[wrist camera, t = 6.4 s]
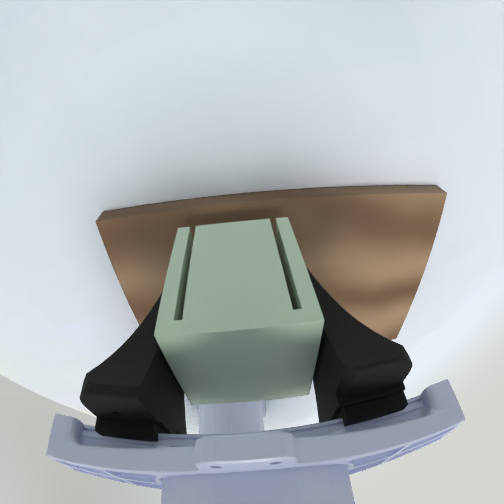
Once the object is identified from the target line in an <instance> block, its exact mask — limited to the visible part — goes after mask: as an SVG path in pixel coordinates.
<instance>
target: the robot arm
mask: <svg viewBox="0 0 504 504" xmlns="http://www.w3.org/2000/svg"><path fill="white" fill-rule="evenodd" d="M307 271H308V273H309V276H310V279H311V282H312V285H313V288H314V291H315V294H316V296H317V299H318V302H319V305H320V308H321V311H322V314H323V317H324V325H323V330H322V336H321V341H320V346H319V351H318V356H317V361H316V366H315V370H314V375H313V383H314V388H315V395H316V402H317V409H318V417H319V423H316V424H310V425H304V426H298V427H292V428H284V429H277V430H268V431H264V424H263V417H265V402H264V400H263V401H253V402H242V403H227V404H205V405H197V407H198V409H199V434H187V432H186V421H185V405H184V391H183V389H182V388H181V386H180V384H179V382H178V380H177V379H176V377H175V375H174V373H173V371H172V370H171V368H170V366H169V364H168V362H167V360H166V358H165V356H164V354H163V352H162V350H161V349H160V347H159V345H158V343H157V341H156V338H155V336H154V332H155V327H156V322H157V317H158V312H159V307H160V302H161V297H162V293H163V291H162V293H161V295H160V296H159V298H158V300H157V301H156V303H155V304H154V306H153V307H152V309H151V310H150V312H149V313H148V315H147V316H146V317H145V319H144V320H143V322H142V323H141V324H140V326H139V327H138V328H137V329H136V331H135V332H134V333H133V334H132V335H131V336H130V338H129V339H128V340H127V341H126V342H125V343H124V344H123V345H122V346H121V347H120V348H119V349H118V350H117V351H116V352H114V353H113V354H112V355H111V356H110V357H109V358H107V359H106V360H105V361H104V362H102V363H101V364H100V365H98V366H97V367H96V368H94V369H93V370H91V371H90V372H88V373H87V374H86V376H85V379H84V382H83V387H82V391H81V395H80V400H81V402H82V404H83V405H84V406H85V407H86V408H87V409H89V410H90V411H91V412H92V413H93V414H94V415H95V416H97V420H96V425H95V426H89V425H84V424H83V423H82V422H81V421H79V420H78V419H76V418H74V417H71V416H65V415H60V414H55V416H54V420H53V425H52V429H51V434H50V439H49V444H48V449H47V454H46V455H47V456H48V457H49V458H51V459H53V460H55V461H57V462H59V463H61V464H63V465H65V466H67V467H69V468H71V469H73V470H76V471H79V472H82V473H86V474H90V475H94V476H98V477H102V478H106V479H110V480H115V481H119V482H123V483H128V484H133V485H139V486H145V487H150V488H158V489H162V504H355V502H354V497H353V493H352V488H351V483H350V479H349V475H350V474H353V473H357V472H360V471H363V470H366V469H369V468H372V467H375V466H377V465H380V464H383V463H386V462H388V461H391V460H394V459H396V458H399V457H401V456H403V455H406V454H408V453H411V452H413V451H415V450H418V449H420V448H422V447H424V446H426V445H429V444H431V443H433V442H435V441H437V440H440V439H441V438H443V437H444V436H446V435H447V434H448V433H450V432H451V431H452V430H454V429H455V428H456V427H458V426H459V425H460V424H461V423H463V422H464V421H465V417H464V415H463V412H462V410H461V407H460V405H459V403H458V400H457V398H456V396H455V394H454V391H453V389H452V387H451V385H450V383H449V381H448V380H447V379H446V380H444V381H441V382H439V383H436V384H433V385H431V386H429V387H427V388H426V389H425V390H424V391H423V392H422V393H421V395H420V396H417V397H414V398H411V399H408V400H407V399H406V397H405V394H404V390H405V386H404V383H403V381H404V379H405V378H406V376H407V375H408V373H409V372H410V370H411V368H412V362H411V360H410V357H409V355H408V353H407V352H406V350H405V349H404V347H403V346H402V345H400V344H398V343H396V342H393V341H391V340H389V339H387V338H385V337H383V336H382V335H380V334H378V333H376V332H375V331H373V330H371V329H370V328H368V327H367V326H365V325H364V324H362V323H361V322H360V321H358V320H357V319H356V318H354V317H353V316H352V315H351V314H349V313H348V312H347V311H346V310H345V309H344V308H343V307H341V306H340V305H339V304H338V303H337V302H336V301H335V300H334V299H333V298H332V297H331V296H330V294H329V293H328V292H327V291H326V290H325V289H324V288H323V287H322V286H321V284H320V283H319V282H318V281H317V280H316V278H315V277H314V276H313V275H312V273H311V272H310V271H309V269H308V268H307Z"/></svg>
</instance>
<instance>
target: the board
mask: <svg viewBox="0 0 504 504" xmlns="http://www.w3.org/2000/svg"><path fill="white" fill-rule="evenodd" d="M446 195H447V193H446V192H445V191H443V190H442V189H441V188H440V187H438V186H425V185H394V186H350V187H326V188H308V189H292V190H278V191H265V192H253V193H242V194H232V195H222V196H213V197H204V198H195V199H187V200H179V201H171V202H164V203H156V204H149V205H143V206H136V207H129V208H123V209H117V210H111V211H105V212H102V214H101V215H100V216H99V218H98V219H97V221H96V224H97V226H98V229H99V232H100V235H101V238H102V240H103V243H104V246H105V248H106V251H107V253H108V256H109V258H110V261H111V263H112V266H113V268H114V271H115V273H116V275H117V278H118V280H119V282H120V285H121V287H122V289H123V292H124V294H125V296H126V298H127V300H128V303H129V305H130V307H131V309H132V311H133V313H134V315H135V317H136V319H137V321H138V323H139V325H140V324H141V323H142V322H143V320H144V319H145V317H146V316H147V315H148V313H149V312H150V310H151V309H152V307H153V306H154V304H155V303H156V301H157V300H158V298H159V296H160V295H161V293H162V291H163V288H164V284H165V279H166V275H167V270H168V266H169V262H170V258H171V254H172V250H173V246H174V242H175V238H176V234H177V230H178V228H182V227H190V230H191V234H192V239H193V240H194V234H195V228H196V226H200V225H209V224H219V223H228V222H239V221H249V220H260V219H270V222H271V226H272V230H273V234H274V237H275V241H276V218H282V217H288V219H289V222H290V224H291V227H292V230H293V232H294V235H295V238H296V240H297V243H298V246H299V248H300V251H301V254H302V257H303V259H304V262H305V265H306V268H308V269H309V271H310V272H311V273H312V275H313V276H314V277H315V278H316V280H317V281H318V282H319V283H320V284H321V286H322V287H323V288H324V289H325V290H326V291H327V292H328V293H329V294H330V296H331V297H332V298H333V299H334V300H335V301H336V302H337V303H338V304H339V305H340V306H341V307H343V308H344V309H345V310H346V311H347V312H348V313H349V314H351V315H352V316H353V317H354V318H356V319H357V320H358V321H360V322H361V323H362V324H364V325H365V326H367V327H368V328H370V329H371V330H373V331H375V332H376V333H378V334H380V335H382V336H383V337H385V338H387V339H389V340H392V339H396V338H397V336H398V334H399V331H400V329H401V327H402V325H403V323H404V320H405V318H406V316H407V314H408V311H409V309H410V306H411V304H412V302H413V299H414V297H415V294H416V292H417V289H418V286H419V284H420V281H421V279H422V276H423V273H424V270H425V267H426V265H427V262H428V259H429V256H430V253H431V249H432V246H433V243H434V240H435V237H436V233H437V230H438V226H439V223H440V219H441V215H442V211H443V207H444V203H445V199H446Z"/></svg>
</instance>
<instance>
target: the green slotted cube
mask: <svg viewBox="0 0 504 504" xmlns="http://www.w3.org/2000/svg"><path fill="white" fill-rule="evenodd" d="M323 325H324V317H323V314H322V311H321V308H320V305H319V302H318V299H317V296H316V294H315V291H314V288H313V285H312V282H311V279H310V276H309V273H308V271H307V268H306V265H305V262H304V259H303V257H302V254H301V251H300V248H299V246H298V243H297V240H296V238H295V235H294V232H293V230H292V227H291V224H290V222H289V219H288V217H282V218H276V241H275V237H274V234H273V230H272V226H271V222H270V219H260V220H249V221H239V222H228V223H219V224H209V225H200V226H196V228H195V234H194V240H193V239H192V234H191V230H190V227H182V228H178V230H177V234H176V238H175V242H174V246H173V250H172V254H171V258H170V262H169V266H168V270H167V275H166V279H165V284H164V288H163V293H162V297H161V302H160V307H159V312H158V317H157V322H156V327H155V332H154V336H155V338H156V341H157V343H158V345H159V347H160V349H161V350H162V352H163V354H164V356H165V358H166V360H167V362H168V364H169V366H170V368H171V370H172V371H173V373H174V375H175V377H176V379H177V380H178V382H179V384H180V386H181V388H182V389H183V391H184V393H185V394H186V396H187V398H188V400H189V401H190V403H191V405H205V404H227V403H242V402H253V401H263V400H272V399H280V398H288V397H295V396H302V395H308V394H309V392H310V388H311V384H312V379H313V375H314V370H315V366H316V361H317V356H318V351H319V346H320V341H321V336H322V330H323Z"/></svg>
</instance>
